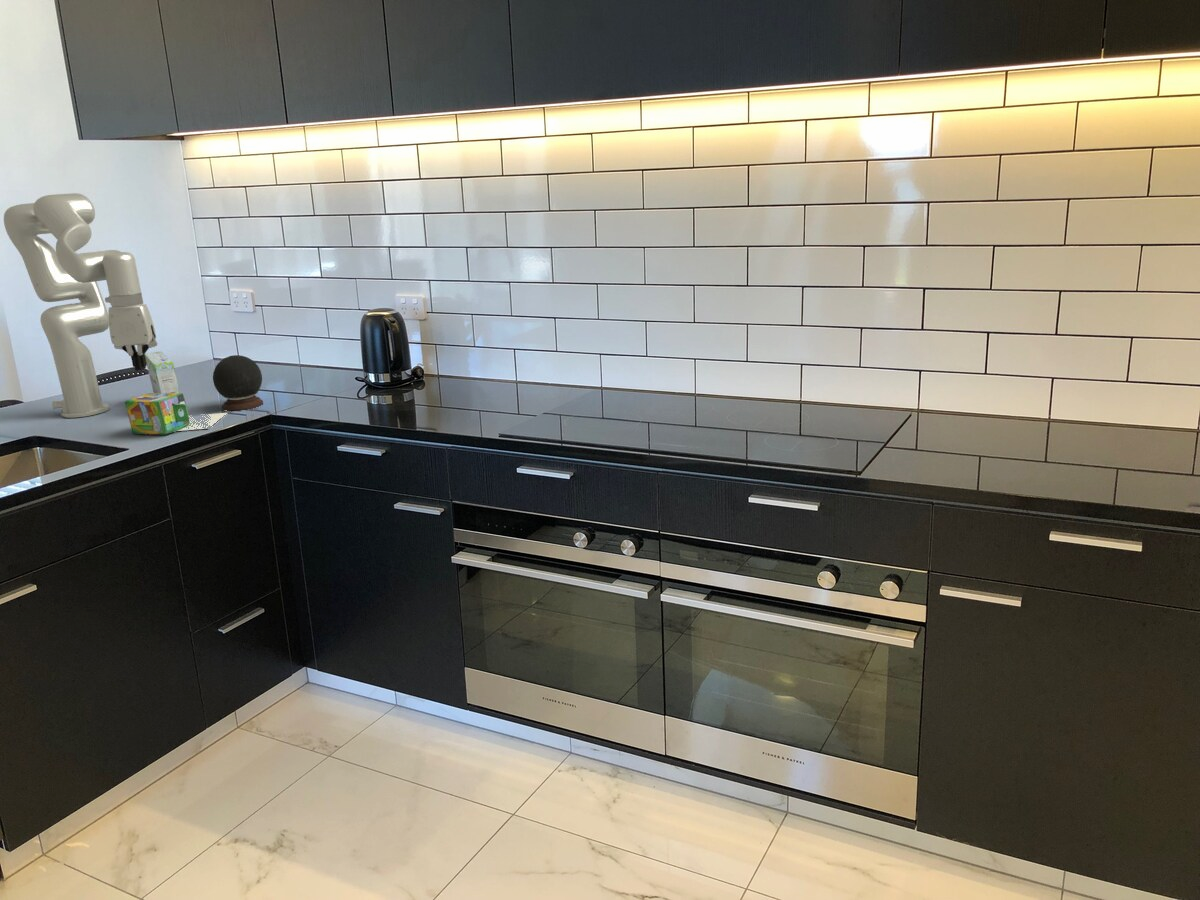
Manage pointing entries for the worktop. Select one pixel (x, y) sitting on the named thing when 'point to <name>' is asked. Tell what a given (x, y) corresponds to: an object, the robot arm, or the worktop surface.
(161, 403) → the chalk box
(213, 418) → the mat
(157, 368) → the snack box
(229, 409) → the dark ball on base
